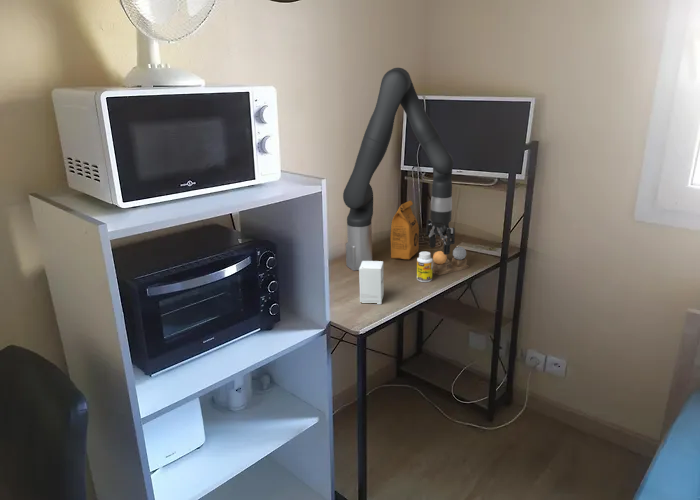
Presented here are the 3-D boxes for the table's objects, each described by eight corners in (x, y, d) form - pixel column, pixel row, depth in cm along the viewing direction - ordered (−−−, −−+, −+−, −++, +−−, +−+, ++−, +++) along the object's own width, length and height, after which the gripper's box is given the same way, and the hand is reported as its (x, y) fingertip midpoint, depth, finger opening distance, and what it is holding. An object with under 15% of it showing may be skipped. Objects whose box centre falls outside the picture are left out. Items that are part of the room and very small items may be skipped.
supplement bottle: (415, 282, 194) (415, 255, 191) (418, 276, 199) (418, 250, 196) (430, 283, 192) (431, 256, 189) (433, 277, 197) (433, 251, 194)
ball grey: (458, 262, 202) (458, 250, 200) (449, 258, 206) (450, 246, 204) (468, 260, 204) (469, 247, 202) (460, 256, 208) (461, 244, 207)
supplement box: (381, 304, 177) (381, 268, 173) (359, 303, 178) (358, 268, 174) (384, 295, 184) (383, 260, 180) (362, 294, 185) (361, 260, 181)
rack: (437, 275, 199) (438, 266, 198) (430, 271, 203) (430, 262, 202) (468, 268, 205) (468, 259, 204) (460, 264, 209) (460, 255, 208)
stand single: (438, 264, 209) (439, 256, 208) (431, 260, 213) (431, 252, 212) (449, 262, 211) (449, 254, 210) (441, 258, 215) (442, 250, 214)
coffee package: (422, 252, 222) (423, 200, 215) (409, 262, 213) (409, 208, 205) (400, 249, 227) (400, 198, 220) (387, 258, 217) (386, 205, 210)
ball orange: (449, 264, 200) (449, 251, 199) (438, 267, 198) (438, 254, 197) (441, 260, 204) (441, 248, 203) (430, 263, 202) (430, 250, 201)
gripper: (462, 211, 190) (459, 254, 196) (437, 202, 202) (436, 243, 208) (444, 214, 187) (442, 258, 192) (421, 205, 199) (419, 246, 204)
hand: (439, 250), depth 200 cm, fingers open, 8 cm apart
